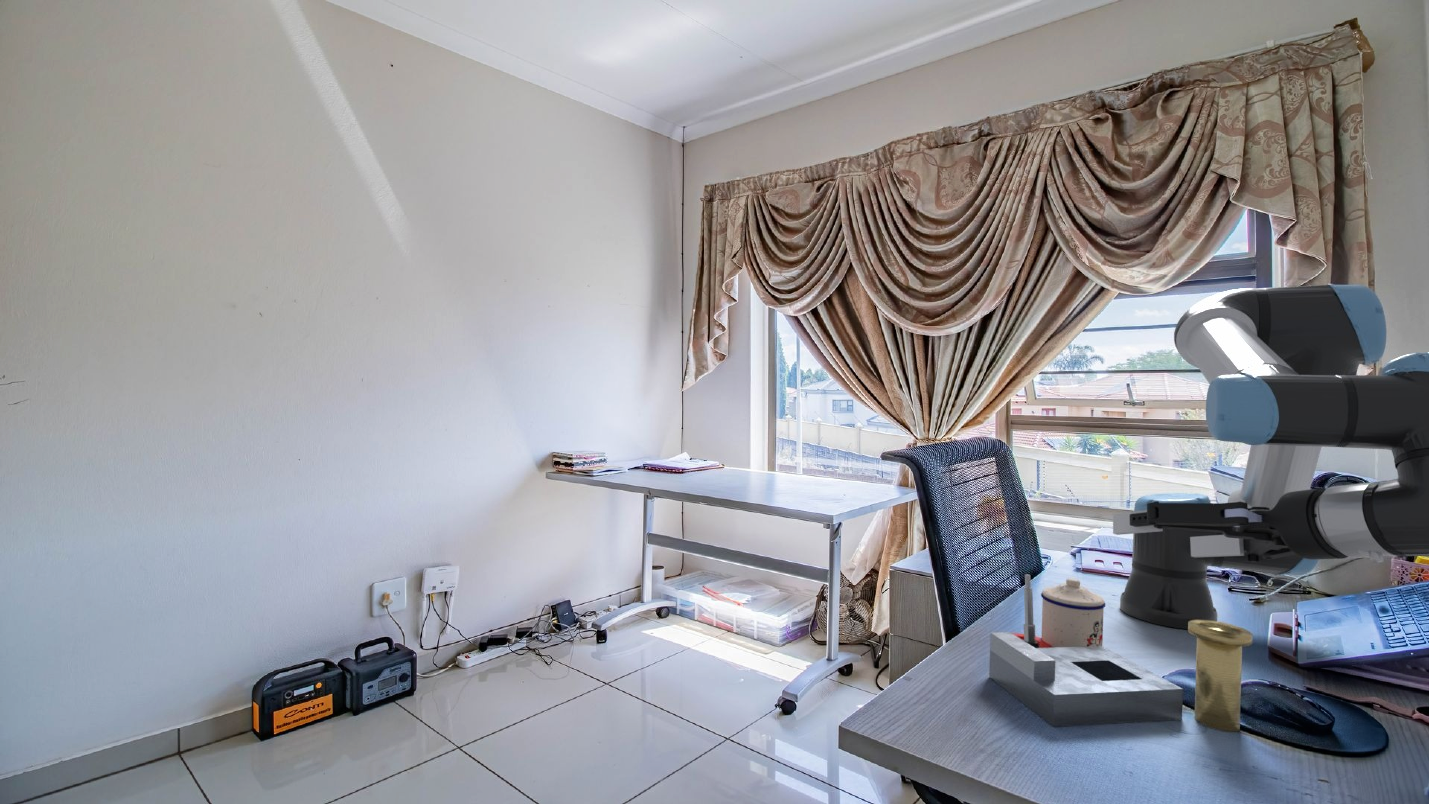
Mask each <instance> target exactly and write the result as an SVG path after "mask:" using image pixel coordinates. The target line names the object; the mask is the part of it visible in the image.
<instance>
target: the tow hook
mask: <svg viewBox="0 0 1429 804" xmlns="http://www.w3.org/2000/svg"><path fill="white" fill-rule="evenodd" d="M1031 582H1032V581H1031V574H1024V583H1025V584H1024V585H1025V587H1024V588H1023V601H1024V602H1023V603H1024V624H1023V633H1018V632H1017V633H1016V632H1011V633H1012V634H1014V635H1015V636H1017V637H1018V638H1020V639H1022V640H1023V641H1025V642H1027V643H1028V644H1030V645H1031V646H1033V647H1035V648H1051V645H1050V644H1048V643H1046V642H1044V641H1043V640H1042V638H1041V637H1039V636H1037V635H1036V625H1035V624H1034V602H1033V601H1034V600H1033V588H1032V587H1031V586H1032V585H1031V584H1032V583H1031Z"/></svg>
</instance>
